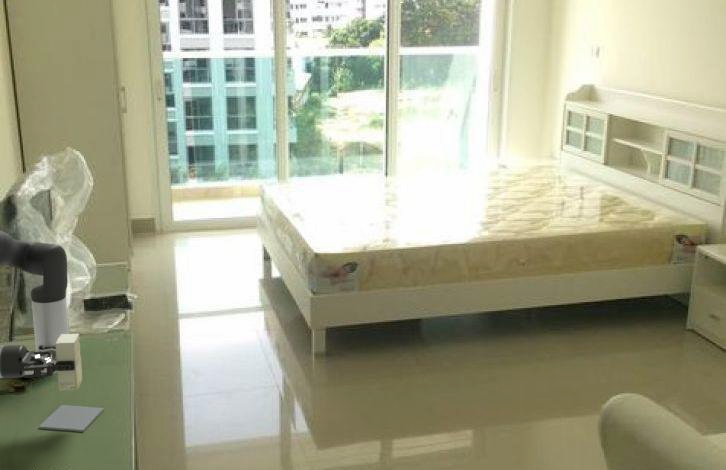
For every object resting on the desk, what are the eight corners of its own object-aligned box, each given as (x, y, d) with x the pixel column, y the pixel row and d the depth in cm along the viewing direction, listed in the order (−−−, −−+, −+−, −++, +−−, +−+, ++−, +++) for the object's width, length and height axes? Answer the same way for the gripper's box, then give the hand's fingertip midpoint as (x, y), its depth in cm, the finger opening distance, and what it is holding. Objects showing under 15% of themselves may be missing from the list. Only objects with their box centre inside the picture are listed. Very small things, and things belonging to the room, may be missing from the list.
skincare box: (77, 390, 177) (74, 343, 174) (57, 391, 176) (54, 343, 173) (82, 379, 183) (80, 332, 180) (63, 379, 182) (60, 333, 179)
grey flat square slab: (62, 406, 188) (61, 404, 188) (104, 409, 187) (103, 408, 187) (38, 428, 177) (38, 426, 177) (83, 431, 176) (83, 429, 176)
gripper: (-9, 359, 168) (70, 357, 171) (11, 335, 182) (83, 333, 184) (-6, 389, 170) (72, 387, 172) (13, 363, 184) (85, 362, 186)
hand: (77, 359), depth 178 cm, fingers closed on skincare box, 6 cm apart
